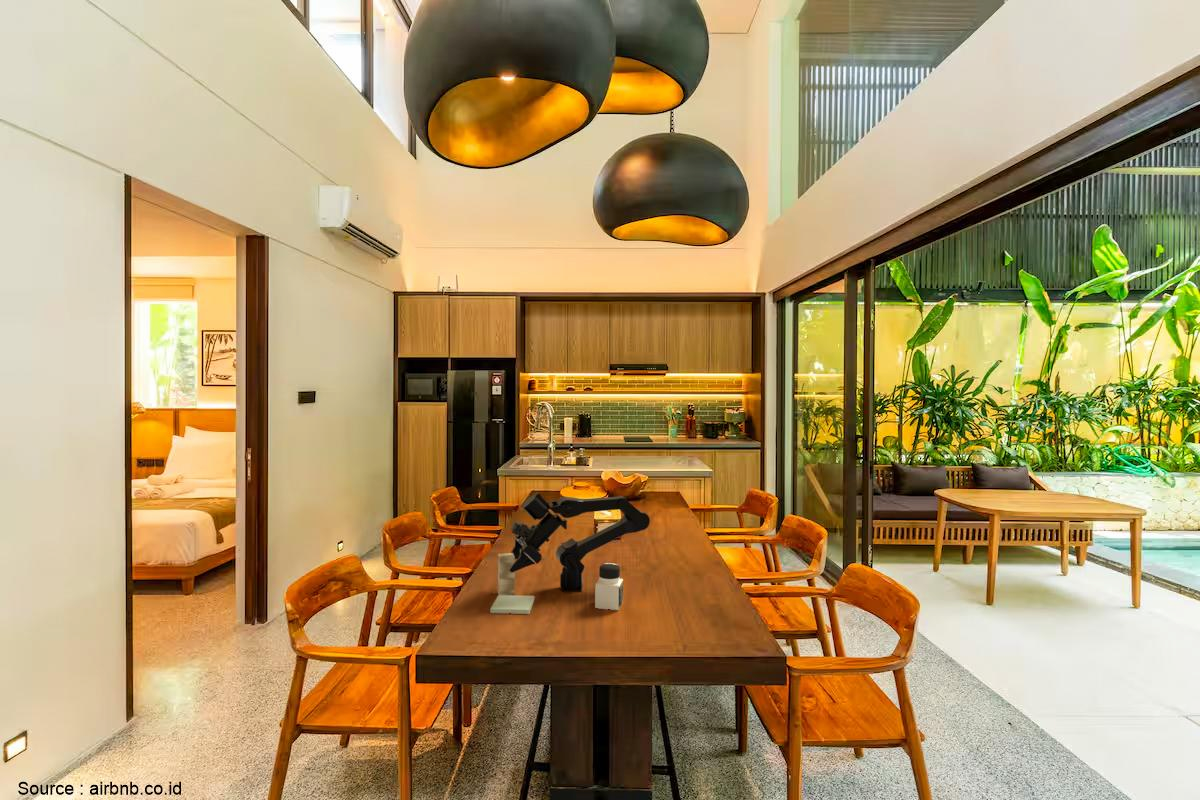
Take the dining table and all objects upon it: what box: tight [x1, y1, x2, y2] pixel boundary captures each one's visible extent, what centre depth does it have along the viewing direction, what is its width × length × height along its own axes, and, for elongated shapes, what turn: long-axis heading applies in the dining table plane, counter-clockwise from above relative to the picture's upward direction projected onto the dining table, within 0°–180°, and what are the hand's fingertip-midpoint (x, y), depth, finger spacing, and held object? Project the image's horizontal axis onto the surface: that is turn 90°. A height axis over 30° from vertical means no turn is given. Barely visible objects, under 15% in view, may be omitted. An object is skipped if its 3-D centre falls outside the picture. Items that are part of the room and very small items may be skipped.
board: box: [489, 594, 536, 615], centre depth 169 cm, size 11×11×1 cm
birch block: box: [497, 552, 516, 596], centre depth 179 cm, size 5×5×12 cm
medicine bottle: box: [594, 562, 624, 611], centre depth 170 cm, size 7×7×12 cm
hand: (508, 567), depth 179 cm, fingers open, 9 cm apart
